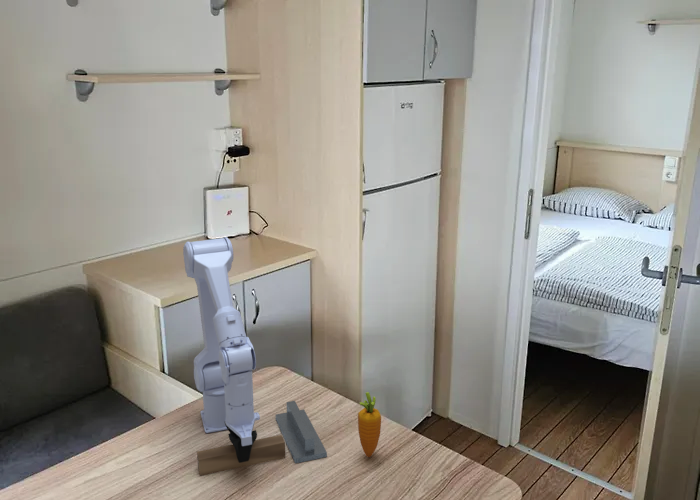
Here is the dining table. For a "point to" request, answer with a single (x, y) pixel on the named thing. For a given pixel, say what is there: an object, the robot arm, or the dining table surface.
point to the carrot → (369, 425)
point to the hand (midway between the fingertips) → (242, 456)
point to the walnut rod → (227, 457)
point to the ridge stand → (300, 434)
